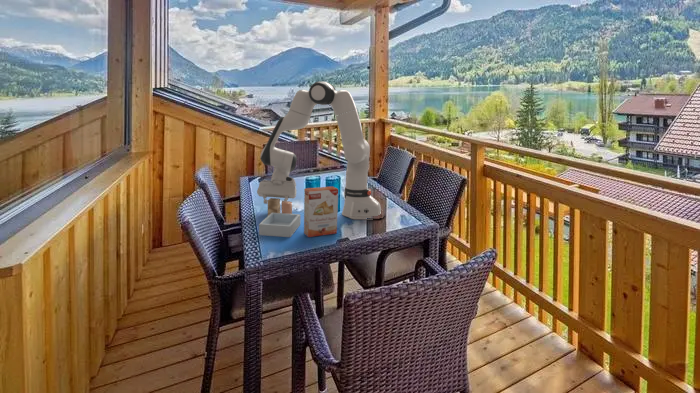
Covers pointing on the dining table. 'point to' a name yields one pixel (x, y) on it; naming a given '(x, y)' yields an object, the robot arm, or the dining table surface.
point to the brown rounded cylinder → (287, 207)
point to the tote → (279, 224)
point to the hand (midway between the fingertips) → (274, 203)
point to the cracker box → (320, 211)
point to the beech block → (273, 205)
